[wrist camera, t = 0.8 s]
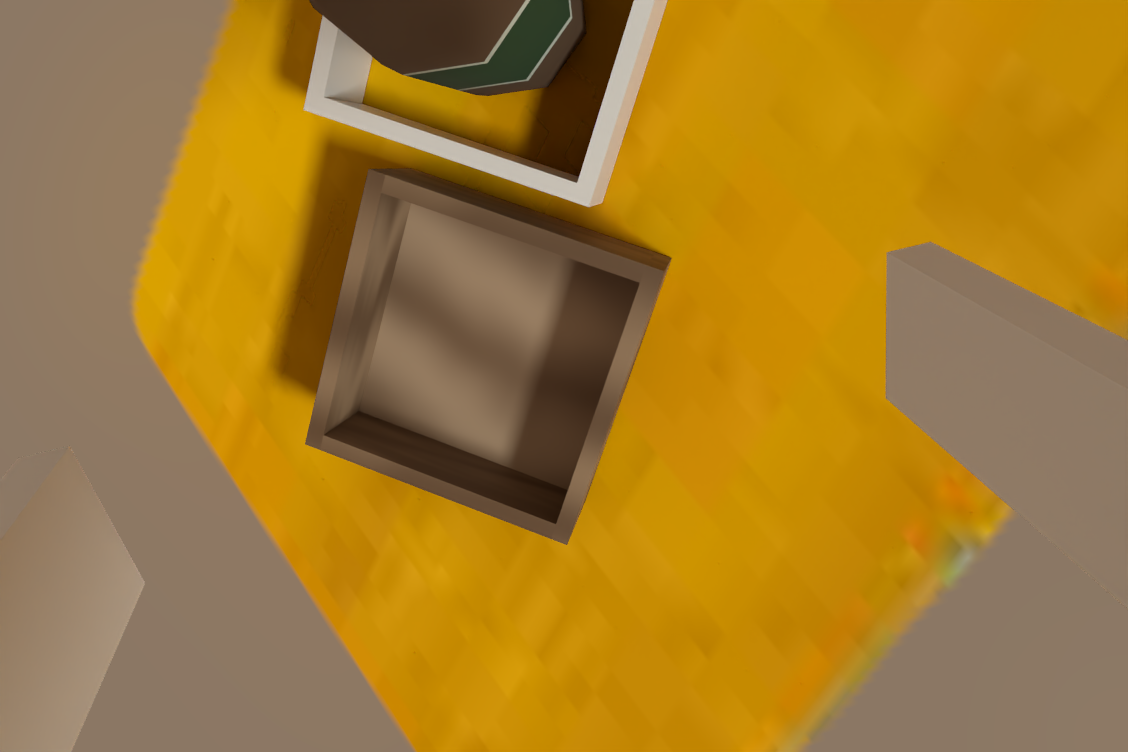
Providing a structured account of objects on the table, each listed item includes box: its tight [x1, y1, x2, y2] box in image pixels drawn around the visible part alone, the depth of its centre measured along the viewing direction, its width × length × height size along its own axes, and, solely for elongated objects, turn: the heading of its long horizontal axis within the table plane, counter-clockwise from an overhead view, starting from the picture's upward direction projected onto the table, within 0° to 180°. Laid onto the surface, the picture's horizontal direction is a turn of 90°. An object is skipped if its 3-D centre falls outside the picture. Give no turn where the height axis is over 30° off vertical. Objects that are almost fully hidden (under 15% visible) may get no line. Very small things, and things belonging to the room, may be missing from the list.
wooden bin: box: [305, 168, 672, 545], centre depth 39 cm, size 14×14×5 cm
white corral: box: [304, 0, 668, 207], centre depth 35 cm, size 14×14×4 cm
